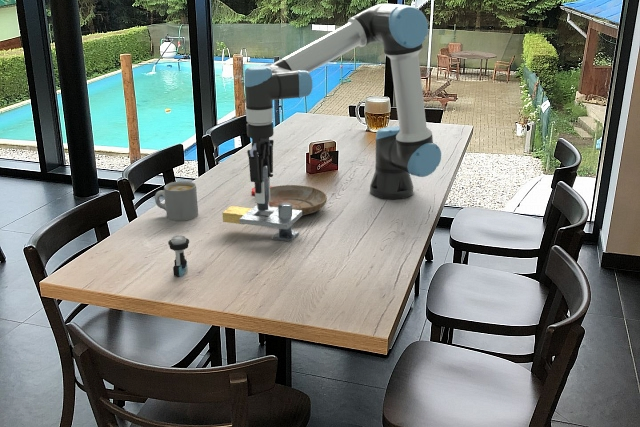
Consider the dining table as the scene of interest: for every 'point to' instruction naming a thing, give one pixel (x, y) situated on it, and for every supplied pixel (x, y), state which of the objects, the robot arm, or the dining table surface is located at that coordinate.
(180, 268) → the push button
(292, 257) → the dining table surface
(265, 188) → the pin
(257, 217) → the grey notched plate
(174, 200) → the coffee mug
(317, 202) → the ceramic bowl
